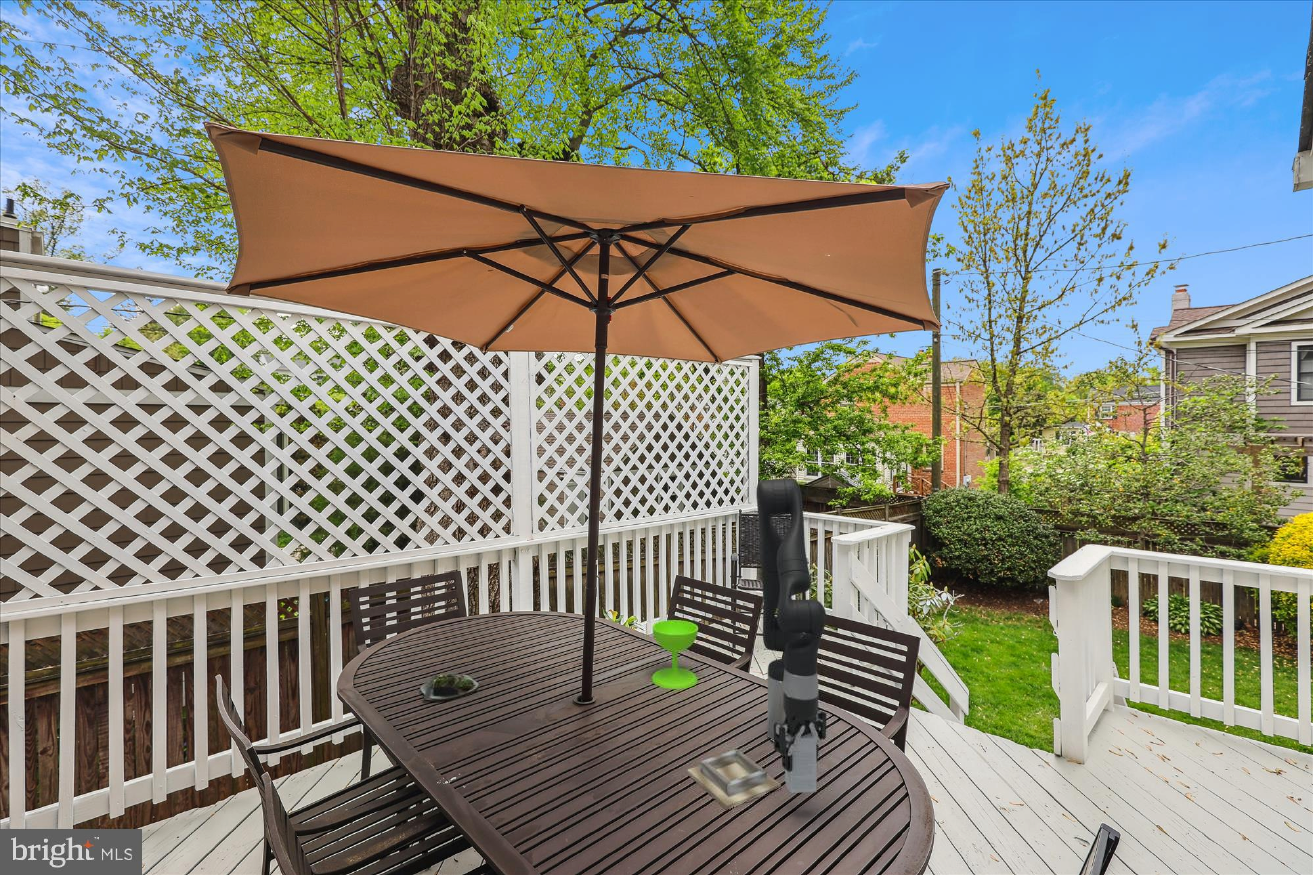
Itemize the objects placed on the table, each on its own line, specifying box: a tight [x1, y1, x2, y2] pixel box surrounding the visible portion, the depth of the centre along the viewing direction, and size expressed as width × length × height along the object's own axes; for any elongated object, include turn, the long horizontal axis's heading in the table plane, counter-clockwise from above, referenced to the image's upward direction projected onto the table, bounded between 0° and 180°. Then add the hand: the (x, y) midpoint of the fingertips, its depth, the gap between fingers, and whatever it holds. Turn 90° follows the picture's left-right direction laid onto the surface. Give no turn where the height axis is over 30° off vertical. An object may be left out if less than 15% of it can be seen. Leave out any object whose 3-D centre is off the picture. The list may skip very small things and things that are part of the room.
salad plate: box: [420, 673, 480, 703], centre depth 184 cm, size 19×18×5 cm
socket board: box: [687, 748, 782, 811], centre depth 135 cm, size 16×16×4 cm
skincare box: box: [784, 733, 818, 794], centre depth 123 cm, size 6×4×12 cm
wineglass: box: [651, 619, 699, 690], centre depth 194 cm, size 16×16×18 cm
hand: (800, 764), depth 123 cm, fingers closed on skincare box, 7 cm apart
